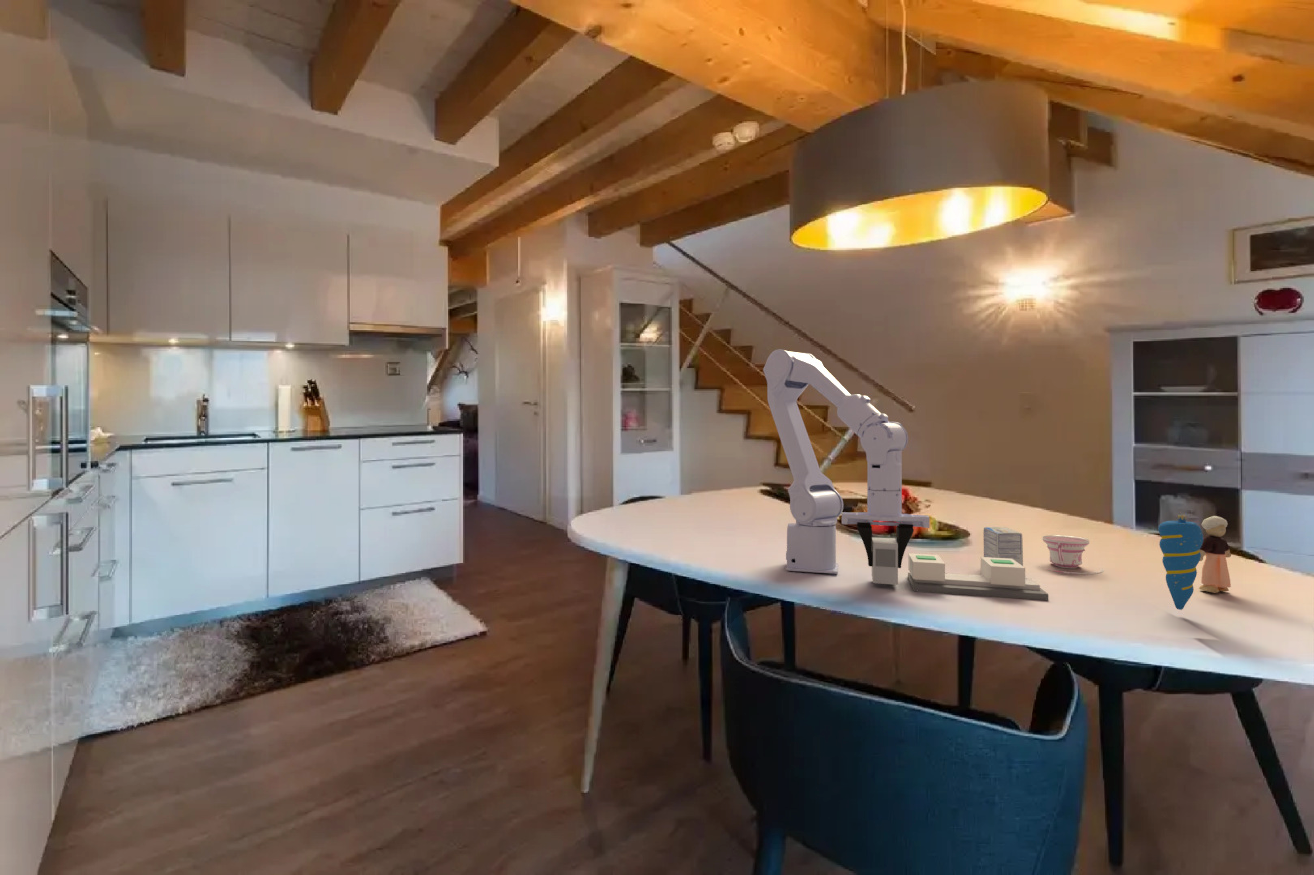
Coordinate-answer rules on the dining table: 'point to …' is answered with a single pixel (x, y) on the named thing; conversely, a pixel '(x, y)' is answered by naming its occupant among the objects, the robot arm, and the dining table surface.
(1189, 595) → the ornament
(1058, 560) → the teacup
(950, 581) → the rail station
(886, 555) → the loose module
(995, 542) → the medicine box
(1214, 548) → the grandmother figurine
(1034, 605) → the dining table surface
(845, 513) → the robot arm
